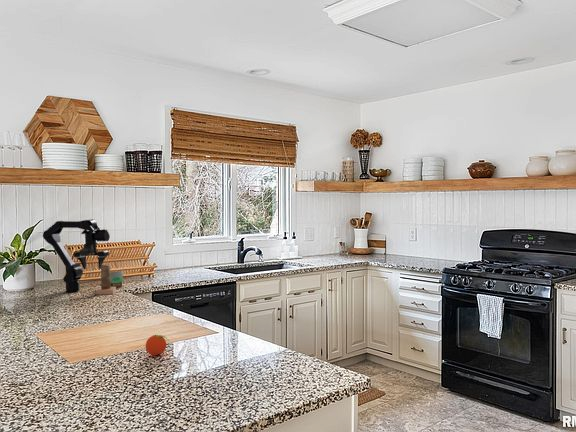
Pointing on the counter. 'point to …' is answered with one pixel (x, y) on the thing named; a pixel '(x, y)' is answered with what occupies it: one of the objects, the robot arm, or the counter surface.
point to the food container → (116, 279)
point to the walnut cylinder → (105, 277)
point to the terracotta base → (105, 291)
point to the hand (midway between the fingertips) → (92, 269)
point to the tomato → (156, 344)
